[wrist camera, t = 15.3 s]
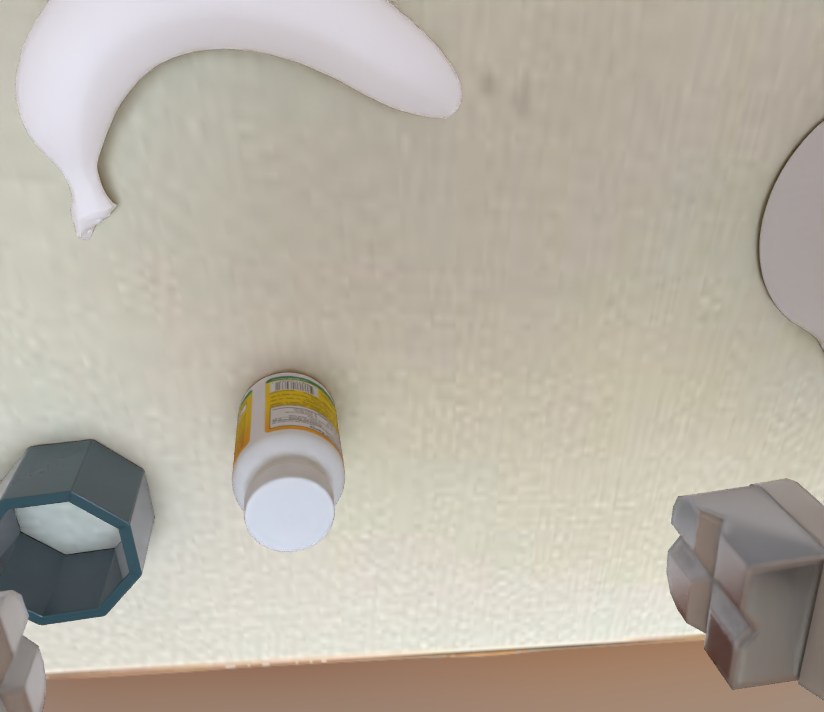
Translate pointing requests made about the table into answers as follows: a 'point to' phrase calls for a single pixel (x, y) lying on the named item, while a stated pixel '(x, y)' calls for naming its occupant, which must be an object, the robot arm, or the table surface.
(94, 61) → the banana
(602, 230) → the table surface
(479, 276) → the table surface
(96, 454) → the holder
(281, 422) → the supplement bottle
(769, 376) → the table surface
